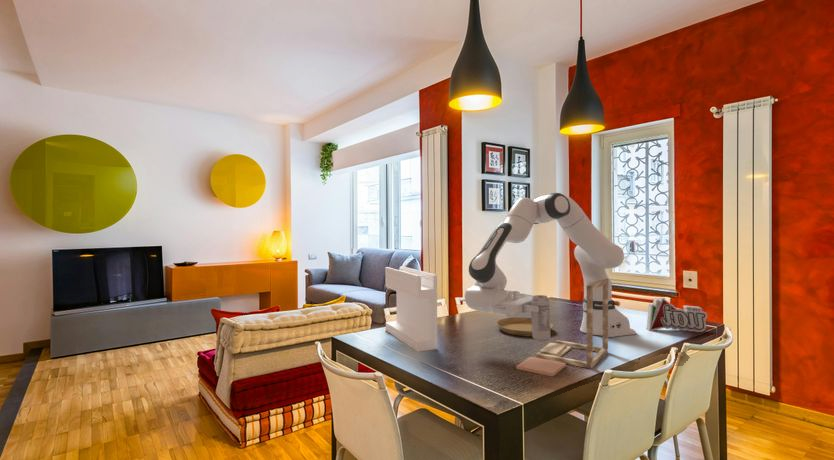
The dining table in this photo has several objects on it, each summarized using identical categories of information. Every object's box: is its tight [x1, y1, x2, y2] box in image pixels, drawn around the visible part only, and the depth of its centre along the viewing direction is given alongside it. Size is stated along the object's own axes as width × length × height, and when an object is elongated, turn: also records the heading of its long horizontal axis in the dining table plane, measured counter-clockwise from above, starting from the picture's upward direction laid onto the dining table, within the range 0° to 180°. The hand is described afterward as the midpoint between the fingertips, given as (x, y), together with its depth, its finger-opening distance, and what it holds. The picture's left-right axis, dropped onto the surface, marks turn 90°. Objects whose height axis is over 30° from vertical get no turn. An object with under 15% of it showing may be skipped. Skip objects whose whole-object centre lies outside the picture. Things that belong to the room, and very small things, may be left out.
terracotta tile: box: [515, 356, 567, 377], centre depth 143 cm, size 12×12×1 cm
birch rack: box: [535, 278, 609, 369], centre depth 156 cm, size 19×22×27 cm
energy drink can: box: [531, 294, 551, 343], centre depth 150 cm, size 6×6×15 cm
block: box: [384, 265, 438, 352], centre depth 179 cm, size 35×8×28 cm, turn 24°
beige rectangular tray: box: [538, 342, 572, 357], centre depth 160 cm, size 7×15×2 cm, turn 143°
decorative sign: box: [646, 296, 708, 333], centre depth 191 cm, size 23×3×15 cm, turn 84°
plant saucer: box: [496, 316, 554, 337], centre depth 192 cm, size 24×24×3 cm
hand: (543, 307), depth 150 cm, fingers closed on energy drink can, 6 cm apart
